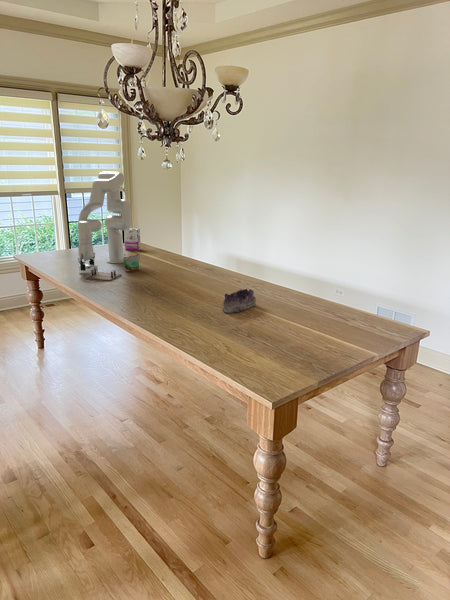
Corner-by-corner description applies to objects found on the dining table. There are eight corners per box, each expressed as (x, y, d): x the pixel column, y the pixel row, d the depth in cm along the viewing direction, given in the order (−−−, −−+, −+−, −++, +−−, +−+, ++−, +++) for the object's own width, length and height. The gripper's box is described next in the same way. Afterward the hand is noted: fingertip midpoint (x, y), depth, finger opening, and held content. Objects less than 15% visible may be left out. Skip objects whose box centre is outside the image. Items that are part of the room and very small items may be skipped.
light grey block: (83, 271, 276) (83, 263, 274) (97, 272, 273) (97, 265, 272) (79, 273, 271) (78, 265, 270) (93, 274, 269) (92, 267, 267)
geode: (237, 317, 202) (235, 296, 199) (217, 314, 209) (215, 294, 206) (260, 304, 217) (258, 285, 214) (241, 302, 224) (239, 283, 221)
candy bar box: (140, 249, 342) (140, 228, 337) (138, 250, 338) (137, 229, 332) (127, 248, 344) (126, 227, 339) (125, 249, 339) (123, 228, 334)
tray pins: (95, 273, 266) (94, 268, 264) (116, 275, 262) (115, 270, 261) (91, 275, 261) (90, 270, 260) (112, 277, 258) (112, 272, 257)
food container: (130, 273, 271) (129, 258, 268) (123, 272, 275) (122, 256, 272) (144, 270, 281) (144, 254, 277) (138, 268, 284) (137, 253, 281)
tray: (98, 273, 270) (98, 271, 270) (121, 275, 266) (121, 274, 266) (85, 279, 258) (85, 277, 257) (109, 281, 254) (109, 279, 253)
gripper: (88, 238, 275) (90, 265, 280) (71, 243, 259) (74, 271, 264) (98, 239, 273) (100, 266, 278) (82, 244, 257) (85, 272, 262)
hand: (87, 268), depth 271 cm, fingers open, 9 cm apart
